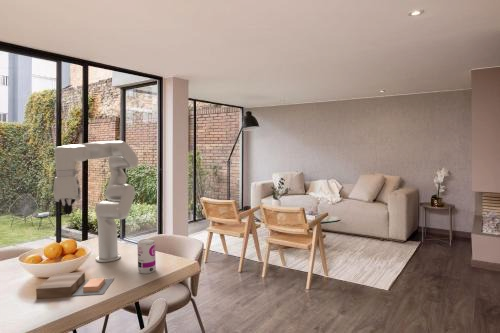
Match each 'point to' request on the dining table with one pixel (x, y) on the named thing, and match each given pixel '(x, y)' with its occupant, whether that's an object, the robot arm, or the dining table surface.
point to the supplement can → (146, 256)
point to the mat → (101, 291)
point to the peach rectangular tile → (94, 284)
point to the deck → (60, 285)
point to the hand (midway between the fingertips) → (68, 213)
